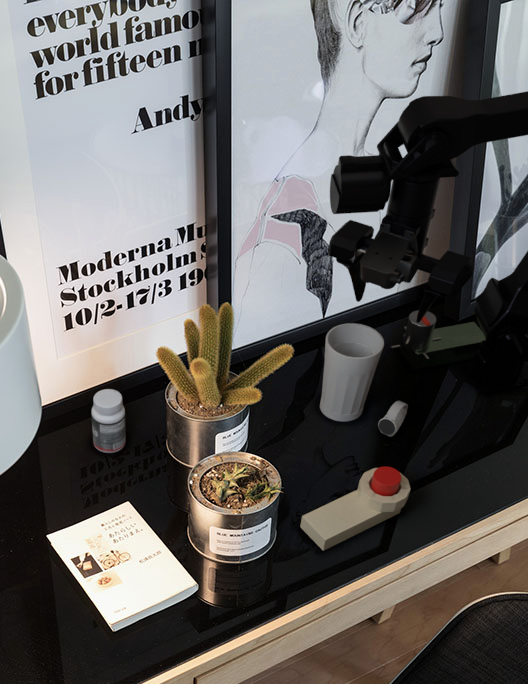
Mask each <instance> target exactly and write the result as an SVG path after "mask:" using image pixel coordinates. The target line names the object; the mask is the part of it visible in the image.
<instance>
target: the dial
mask: <svg viewBox="0 0 528 684" xmlns="http://www.w3.org/2000/svg"><path fill="white" fill-rule="evenodd" d="M418 312H419V309H418V310H413V311H412V312H411V313H410V314H409V315H408V320H407V324H406V326H405V327H406V330H405V331H404V334H403V335H404V339H403V343H404V345H405V346H406V347H407V348H409V349H411V350H415V351H422V350H425V349H427V348H428V347H429V345H430V341H431V338H432V334H433V331H434V329H435V327H436V323H437V317H436V315H435V314H434V313H432V312H431V311H429V310H428V311H427V313H426V314H425V316H424V317H423V318H422V320H421V321H420V322H419V323H417V322H416V320H417V315H418Z"/></svg>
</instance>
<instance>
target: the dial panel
mask: <svg viewBox="0 0 528 684" xmlns="http://www.w3.org/2000/svg"><path fill="white" fill-rule="evenodd" d="M406 327H407V326H403V329H404V330H405V331H406ZM404 335H405V334H403V335H402V338H401V343H400V344H396V345H391V346H390V348H391V349H396V348H397V349H398V348H399V349H398V350H399V351H398V352H399V353H400V354H401V355H402V356H403V358H404V359H405V361H406V362H407V363H408V365H409V366H410V368H411V370H412V371H414V370H415V371H416V370H420V369H425V368H431V367H435V366H440V365H446V364H450V363H456V362H462V361H468V360H474V357H475V354H476V352H477V351H479V349H480V346H481V343H482V341H483V340H486V338H485V336H484V334H483V332H482V329H481V327H480V326H478V324H477V323H476V322H475V321H470V322H465V323H460V324H454V325H449V326H443V327H438V328H434V331H433V334H432V338H431V341H430V345H429V347H428V348H427V349H425V350H422V351H415V350H411V349H409V348H407V347H406V346H405V345H404V343H403V339H404Z"/></svg>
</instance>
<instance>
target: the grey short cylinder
mask: <svg viewBox="0 0 528 684" xmlns="http://www.w3.org/2000/svg"><path fill="white" fill-rule="evenodd" d="M408 408H409V404H407V403H405V402H403V401H401V400H396V401H394V403H392V405H390V407H389V409H388V411H387V412H386V414H385V415H384V416H383V418H381V419H379V420H378V424H377V426H378V429H379V431H380V433H381V434H383V435H385V436H386V437H387V436H388V437H390V438H392V437H394V436H395V435H396V434H397V432H398V431H399V429H400V427H401V426H402V424H403V422H404V420H405V418H406V415H407V413H408Z"/></svg>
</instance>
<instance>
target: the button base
mask: <svg viewBox="0 0 528 684" xmlns="http://www.w3.org/2000/svg"><path fill="white" fill-rule="evenodd" d="M378 468H379V467H374V468H371V469H369V470H367V471H365V472H363V474H362V476H361V477H360V479H359V482H358V486H357V489H356V490H354V491H351V492H349V493H347V494H345V495H343V496H340V497H339V498H337V499H335V500H333V501H330V502H328V503H326V504H325V505H322V506H320V507H318V508H315V509H314V510H312V511H310V512H308V513H305V514H303V515H302V516H301V519H300V521H301V522H300V526H299V527H300V528H301V530H302V531H303V532H304V533H305V534H306V535H308V537H309V538H310V539H311V540H312V541H313V542H314V543H315V544H316V545H317V546H318V547H319V548H320V549H321V550H322V551H323V552H324V551H327V550H328V549H330V548H333V547H334V546H336V545H338V544H340V543H342V542H344V541H346V540H348V539H350V538H352V537H354V536H356V535H358V534H360V533H362V532H365V531H366V530H368V529H370V528H372V527H374V526H376V525H378V524H380V523H382V522H384V521H386V520H388V519H391V518H393V517H395V516H396V515H399V514H400V513H401V511H402V508H404V507H405V505H406V503H407V501H408V499H409V496H410V492H411V485H410V482H409V479H408V478H407V477H406V476H405V475H404V474H402V473H401V472H400V471H398V472H399V473H400V474H401V482H400V485H399V489H398V491H397V493H396V494H394V495H392V496H381V495H378V494H376V493H375V492H374V491H373V490H372V488H371V482H372V478H373V474H374V471H375V470H376V469H378Z"/></svg>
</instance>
